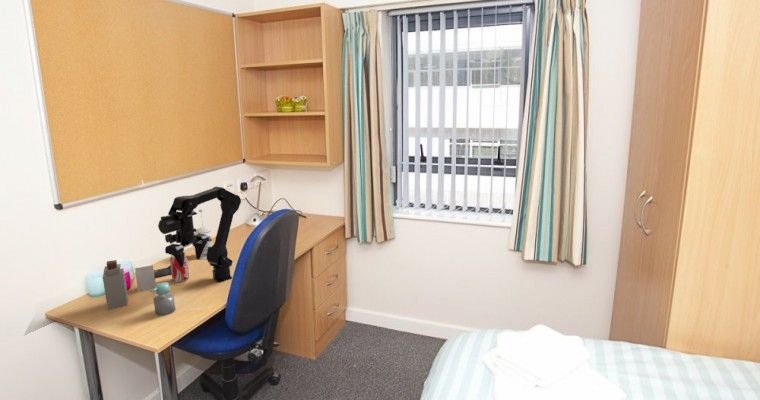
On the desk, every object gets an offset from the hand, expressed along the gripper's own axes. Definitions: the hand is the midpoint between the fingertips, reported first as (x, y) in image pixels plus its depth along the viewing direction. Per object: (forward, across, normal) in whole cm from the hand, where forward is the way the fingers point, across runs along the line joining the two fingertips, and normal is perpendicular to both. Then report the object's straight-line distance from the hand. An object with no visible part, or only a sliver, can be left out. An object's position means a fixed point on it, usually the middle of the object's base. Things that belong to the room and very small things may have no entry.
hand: (190, 263), depth 184 cm
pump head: (+7, +18, +2) cm, 20 cm away
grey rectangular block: (+13, +4, -22) cm, 26 cm away
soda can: (+13, -8, -15) cm, 22 cm away
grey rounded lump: (+13, +17, +2) cm, 22 cm away
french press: (+13, -36, -27) cm, 47 cm away
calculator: (+14, -13, -28) cm, 34 cm away
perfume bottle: (+13, +19, -20) cm, 31 cm away
